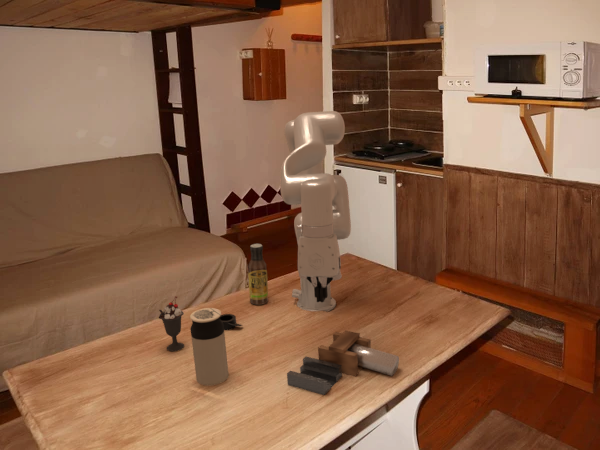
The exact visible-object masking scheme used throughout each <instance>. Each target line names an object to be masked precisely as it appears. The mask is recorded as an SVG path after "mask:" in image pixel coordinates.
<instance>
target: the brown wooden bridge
mask: <svg viewBox="0 0 600 450" xmlns="http://www.w3.org/2000/svg"><path fill="white" fill-rule="evenodd" d="M360 334H361V333H360V332H356V331H355V332H354V331H351V330H344V331H343V332H339V331H334V332H333V334H332V343H331V344H329V346H328V345H321V344H320V345H319V346H318V348H317V350H318V359H319V360H323V361H327V362H331V363H335V364H339V365H342V375H348V376H351V377H356V376H357V375H358V374H359V373H360V372H361V371H362V370H363V368H364V367H361V366H358V360H357V353H354V352H349V351H346V350H347V349H348V348H349V347H350V346H351V345H352V344H353V343H355V344H358V345H362V346H365V347H369V348H372V347H371V346H372V345H371V341H372V339H371V338H367V337H363V336H362V337H361V335H360Z"/></svg>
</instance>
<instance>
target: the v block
mask: <svg viewBox="0 0 600 450" xmlns="http://www.w3.org/2000/svg"><path fill="white" fill-rule="evenodd" d="M299 371H300V372H297V371H294V370H293V371H292V370H289V371H288V372H287V373H286V378H287V381H286V382H287V386H291V387H294V388H297V389H301V390H304V391H307V392H312V393H316V394H319V395H323V396H325V395H327V393H328V392H329V391H330V390H332V388H333V387H334V386H335V385H336V383H338V381H339V380H340V379H341V378H343V373H342V365H339V364H335V363H331V362H327V361H323V360H319V358H313V357H310V356H305V357H303V358H302V365H301V366H300V367H299Z"/></svg>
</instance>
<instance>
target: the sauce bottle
mask: <svg viewBox="0 0 600 450" xmlns="http://www.w3.org/2000/svg"><path fill="white" fill-rule="evenodd" d="M249 250H250V255H251V256H250V260H249V262H248V265H247V268H248V272H247V275H248V276H247V277H248V291H249V293H248V294H249V302H250V303H251V304H252V305H257V306H258V305H259V306H261V305H264V304H267V303H268V301H269V299H268V298H269V286H268V270H267V263H266V261H265V260H264V257H263V250H264V247H263V245H262V244H261V243H253V244H251V245H250V247H249Z"/></svg>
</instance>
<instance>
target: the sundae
mask: <svg viewBox="0 0 600 450" xmlns="http://www.w3.org/2000/svg"><path fill="white" fill-rule="evenodd" d="M177 299H178V296H174V298H173V300H172V301H171V302H169V303H168V304H167V305H165V307H164V308H163V311H162V309H158V310H159V312H160V314H159V316H158V319H159V320H162V324H163V326H164V330H165V332H166V334H167V335H168V336H169V337H171V340H172V341H171V342H172V343H170V344H169V345H167V346H166V350H167V351H168V350H169V351H168V352H178V350H179V351H181V350H183V349H184V348H185V344H184V343H183V342H178V339H177V336H178V335H179V334H180V333H181V330H182V316H183V315H184V311H183V310H181V308H180V307H178V306H179V305H178V303H176V300H177ZM182 348H183V349H182Z"/></svg>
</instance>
